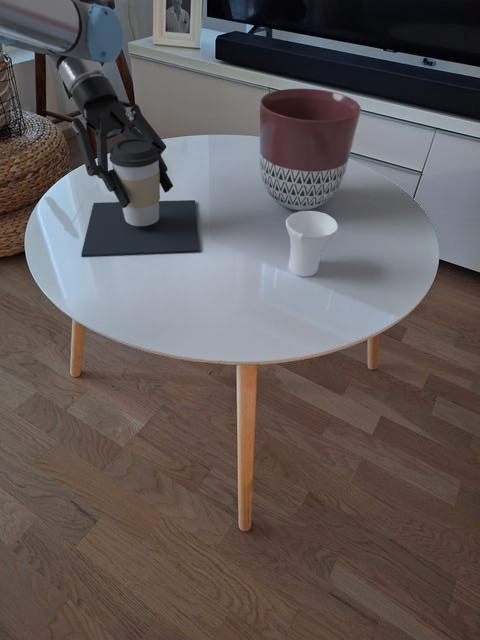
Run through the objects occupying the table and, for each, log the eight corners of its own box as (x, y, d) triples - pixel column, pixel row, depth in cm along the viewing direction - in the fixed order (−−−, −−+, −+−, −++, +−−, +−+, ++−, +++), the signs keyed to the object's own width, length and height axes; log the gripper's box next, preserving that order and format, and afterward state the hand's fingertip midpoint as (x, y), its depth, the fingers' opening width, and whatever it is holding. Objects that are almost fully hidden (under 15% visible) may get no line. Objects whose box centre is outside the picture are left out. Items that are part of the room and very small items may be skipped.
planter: (237, 198, 105) (240, 98, 91) (298, 177, 114) (310, 83, 100) (296, 235, 94) (310, 128, 80) (359, 208, 103) (381, 108, 89)
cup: (271, 274, 84) (276, 226, 77) (293, 250, 90) (300, 203, 83) (316, 291, 81) (325, 242, 74) (336, 265, 87) (346, 218, 80)
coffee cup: (143, 234, 89) (133, 157, 79) (109, 219, 92) (96, 144, 82) (173, 215, 94) (168, 141, 84) (140, 202, 98) (132, 130, 88)
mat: (81, 256, 86) (81, 254, 86) (94, 204, 101) (93, 202, 100) (199, 252, 89) (199, 250, 88) (195, 202, 103) (194, 200, 103)
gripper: (132, 87, 94) (185, 188, 97) (30, 109, 83) (92, 223, 85) (145, 64, 88) (201, 172, 90) (35, 84, 76) (103, 207, 79)
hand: (148, 196), depth 88 cm, fingers closed on coffee cup, 9 cm apart
